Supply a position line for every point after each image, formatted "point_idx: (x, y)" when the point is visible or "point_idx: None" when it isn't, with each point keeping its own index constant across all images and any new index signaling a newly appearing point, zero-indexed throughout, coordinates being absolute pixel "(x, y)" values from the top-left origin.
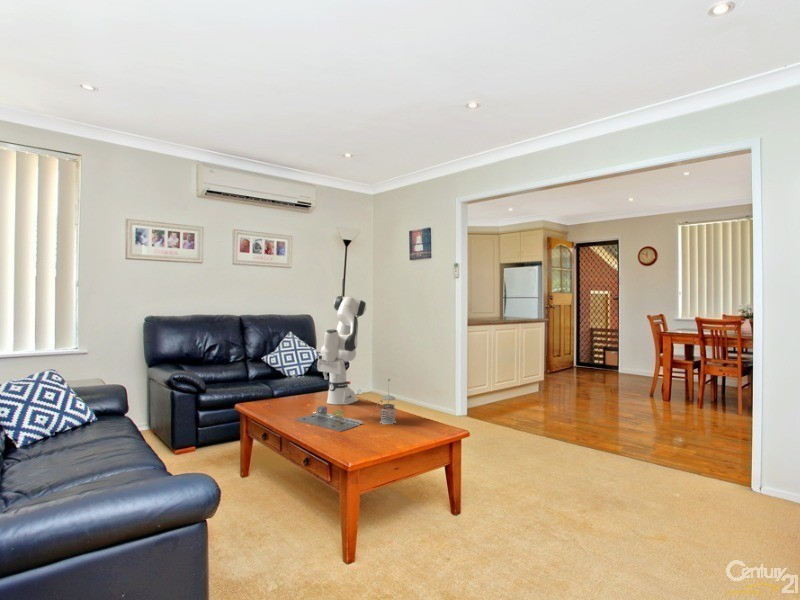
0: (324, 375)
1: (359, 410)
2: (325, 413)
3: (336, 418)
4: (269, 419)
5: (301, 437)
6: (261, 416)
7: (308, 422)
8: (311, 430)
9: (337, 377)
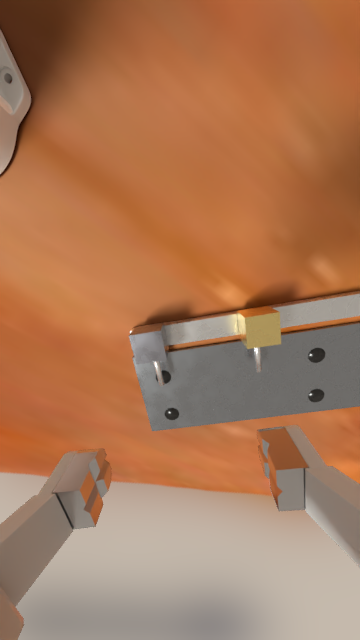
0: (45, 563)
1: (186, 131)
2: (171, 333)
3: None
4: None
5: None
6: None
7: (216, 422)
8: None
9: (352, 489)
